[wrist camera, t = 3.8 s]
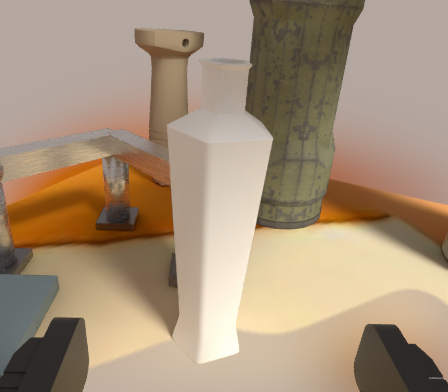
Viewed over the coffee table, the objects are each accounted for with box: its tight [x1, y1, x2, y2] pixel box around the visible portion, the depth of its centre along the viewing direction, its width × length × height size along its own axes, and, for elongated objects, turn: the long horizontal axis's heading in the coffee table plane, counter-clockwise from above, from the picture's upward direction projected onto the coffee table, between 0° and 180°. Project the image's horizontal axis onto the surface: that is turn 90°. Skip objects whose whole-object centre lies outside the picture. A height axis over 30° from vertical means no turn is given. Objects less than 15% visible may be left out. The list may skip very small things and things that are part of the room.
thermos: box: [245, 0, 365, 229], centre depth 30 cm, size 9×12×35 cm
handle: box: [135, 28, 204, 186], centre depth 38 cm, size 5×6×15 cm
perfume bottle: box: [167, 58, 273, 364], centre depth 19 cm, size 5×4×15 cm
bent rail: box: [0, 128, 178, 286], centre depth 28 cm, size 16×10×8 cm, turn 93°
